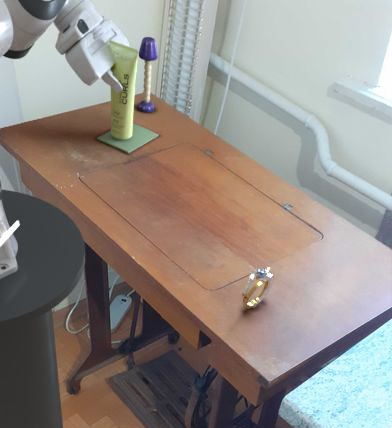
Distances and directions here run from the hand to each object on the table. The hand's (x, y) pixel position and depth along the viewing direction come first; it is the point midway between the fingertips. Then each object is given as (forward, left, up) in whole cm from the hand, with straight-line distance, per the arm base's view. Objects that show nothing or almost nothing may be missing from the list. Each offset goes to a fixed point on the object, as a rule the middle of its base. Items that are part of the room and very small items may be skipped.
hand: (125, 85), depth 118 cm
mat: (+2, 0, -12) cm, 12 cm away
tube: (0, +1, -12) cm, 12 cm away
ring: (-30, -51, -12) cm, 61 cm away
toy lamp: (+17, +6, -12) cm, 21 cm away
